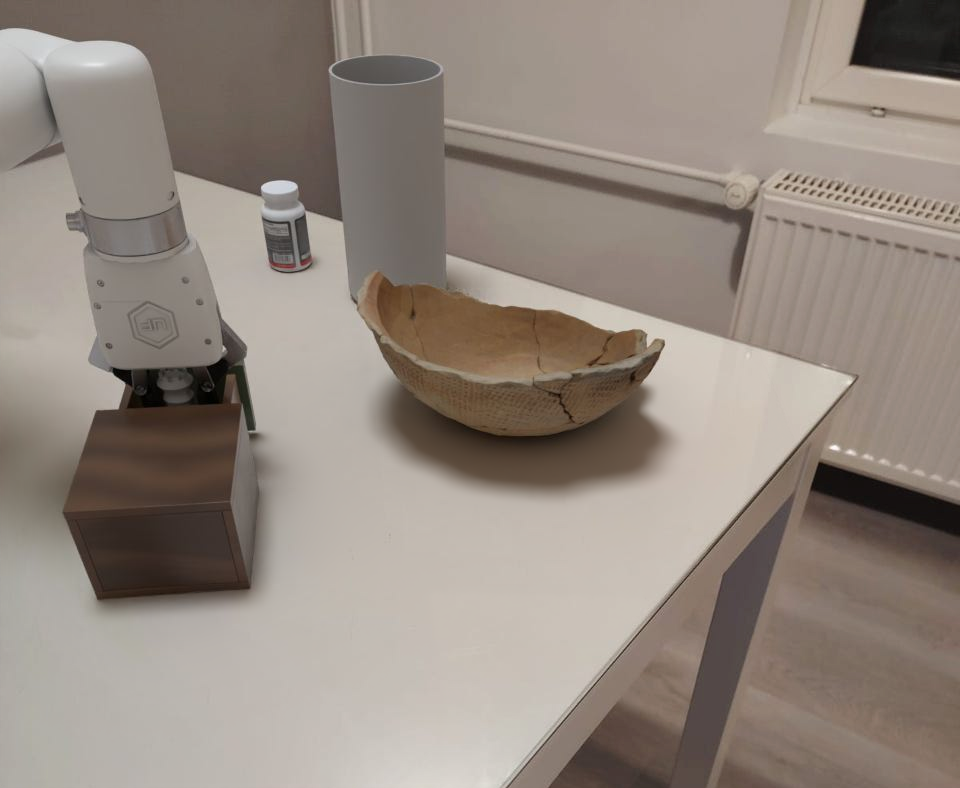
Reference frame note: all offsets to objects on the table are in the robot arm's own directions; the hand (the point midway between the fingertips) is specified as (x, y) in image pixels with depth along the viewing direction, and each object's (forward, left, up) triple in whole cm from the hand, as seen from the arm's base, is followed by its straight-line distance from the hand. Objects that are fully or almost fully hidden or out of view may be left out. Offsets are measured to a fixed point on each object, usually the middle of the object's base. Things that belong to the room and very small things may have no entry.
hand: (185, 422), depth 85 cm
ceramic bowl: (+32, +7, -5) cm, 33 cm away
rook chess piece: (0, 0, -3) cm, 3 cm away
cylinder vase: (+22, +36, -5) cm, 43 cm away
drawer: (0, +1, -4) cm, 4 cm away
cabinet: (0, -12, -5) cm, 13 cm away
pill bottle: (+8, +46, -5) cm, 47 cm away
